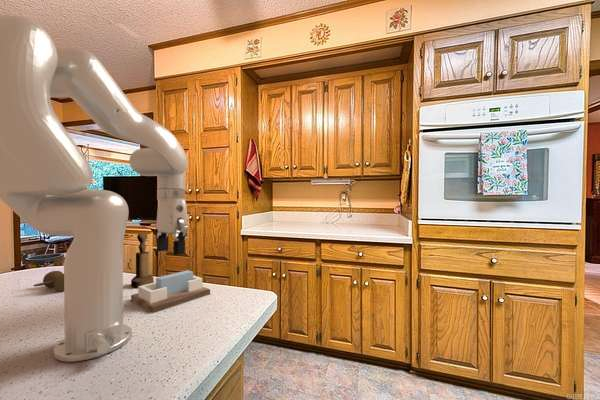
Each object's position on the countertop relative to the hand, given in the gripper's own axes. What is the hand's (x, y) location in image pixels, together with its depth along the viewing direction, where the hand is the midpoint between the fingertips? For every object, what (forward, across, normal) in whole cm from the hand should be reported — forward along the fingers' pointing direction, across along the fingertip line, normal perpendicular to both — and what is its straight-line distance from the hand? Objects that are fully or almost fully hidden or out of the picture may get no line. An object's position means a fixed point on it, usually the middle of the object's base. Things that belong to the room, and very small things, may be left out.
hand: (170, 252), depth 80 cm
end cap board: (+14, 0, -1) cm, 14 cm away
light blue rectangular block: (+12, +1, -2) cm, 12 cm away
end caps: (+12, 0, -1) cm, 12 cm away
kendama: (+14, +37, +14) cm, 42 cm away
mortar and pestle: (+14, +20, 0) cm, 24 cm away
